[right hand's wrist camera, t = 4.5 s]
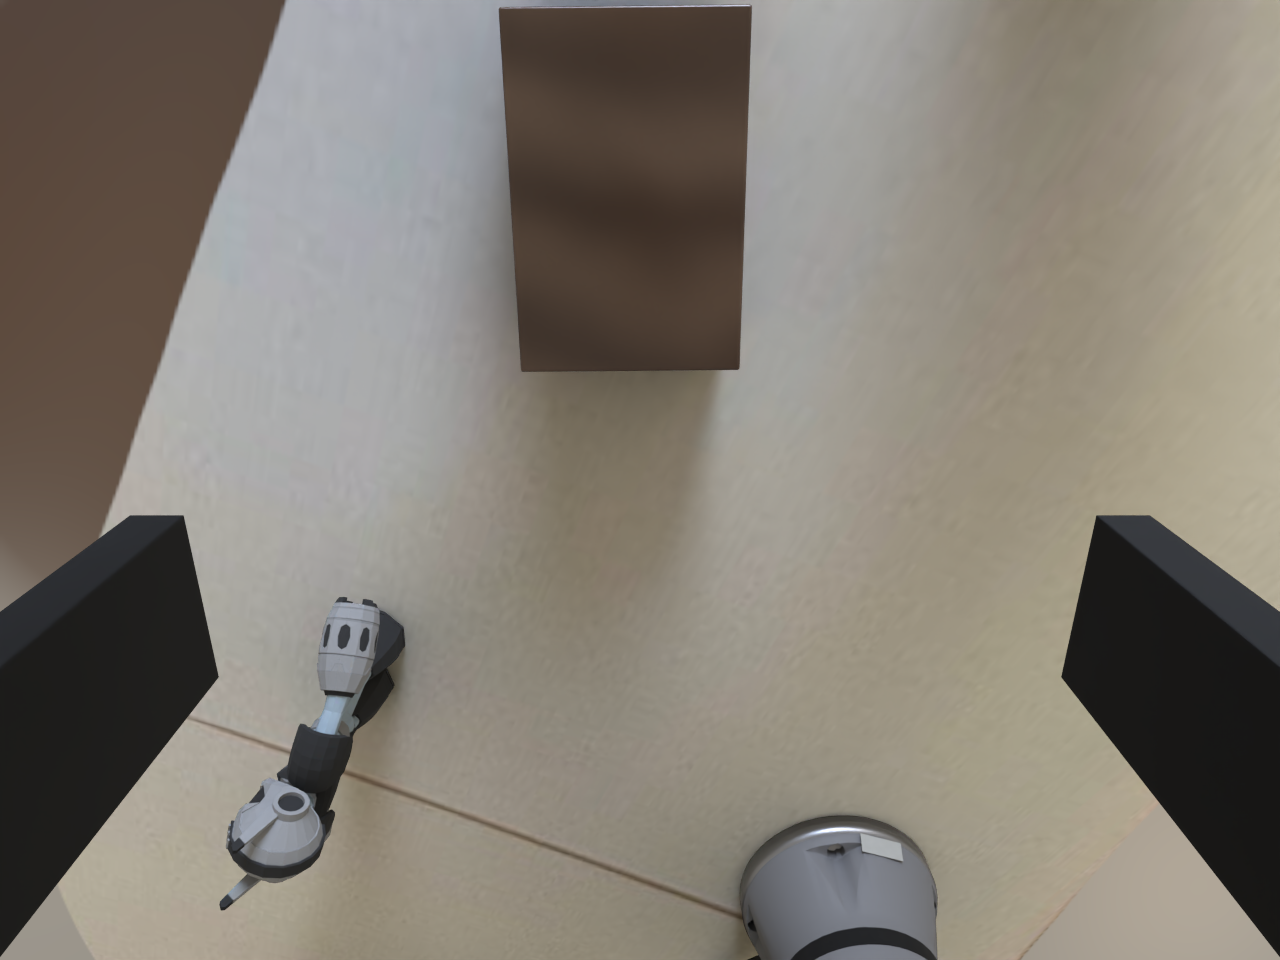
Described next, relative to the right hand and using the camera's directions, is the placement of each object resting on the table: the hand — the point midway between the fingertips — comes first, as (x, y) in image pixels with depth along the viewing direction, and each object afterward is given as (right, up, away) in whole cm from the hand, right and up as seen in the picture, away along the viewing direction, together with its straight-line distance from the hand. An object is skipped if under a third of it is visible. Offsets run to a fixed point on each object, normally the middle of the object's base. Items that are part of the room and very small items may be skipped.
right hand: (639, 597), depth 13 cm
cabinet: (-1, +18, +37) cm, 41 cm away
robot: (-19, -11, +48) cm, 53 cm away
